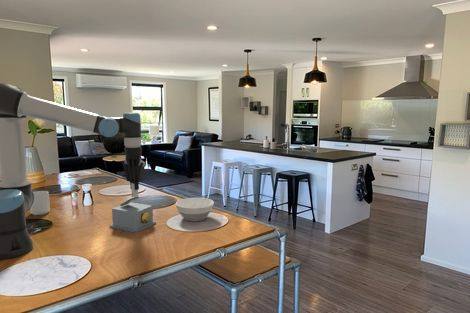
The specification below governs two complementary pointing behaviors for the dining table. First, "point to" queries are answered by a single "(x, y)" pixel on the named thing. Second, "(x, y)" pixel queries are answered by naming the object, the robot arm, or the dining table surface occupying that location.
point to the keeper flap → (129, 201)
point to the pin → (145, 217)
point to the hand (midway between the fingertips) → (135, 196)
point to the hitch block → (131, 217)
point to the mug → (40, 203)
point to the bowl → (194, 208)
